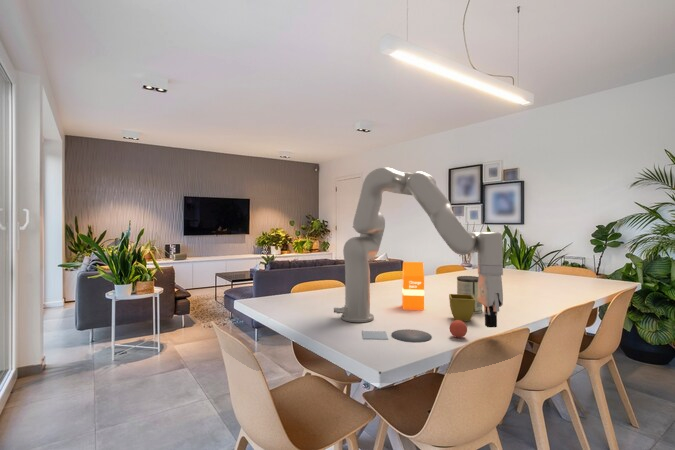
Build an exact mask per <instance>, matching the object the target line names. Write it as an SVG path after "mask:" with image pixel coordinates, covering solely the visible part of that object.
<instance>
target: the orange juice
mask: <svg viewBox="0 0 675 450" xmlns="http://www.w3.org/2000/svg"><path fill="white" fill-rule="evenodd" d="M424 270H425V269H424V262H422V261H403V262H402V274H401V275H402V277H401V278H402V280H401V281H402V287H401V293H402V295H401V299H402V300H401V301H402V303H401V306H402V308H403V309H402V310H415V311H416V310H419V311H421V310H422V311H423V310H425V273H424V272H425V271H424Z"/></svg>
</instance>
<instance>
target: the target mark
mask: <svg viewBox="0 0 675 450" xmlns="http://www.w3.org/2000/svg"><path fill="white" fill-rule="evenodd" d="M390 336H391V337H392V338H393V339H395V340H398V341H402V342H408V343H425V342H428V341H430V340H432V339H433V338H432V337H433V336H432V335H431V334H430V333H428V332H426V331H423V330H418V329H408V328H407V329H397V330H393V331H392V332H391V335H390Z"/></svg>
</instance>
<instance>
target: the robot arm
mask: <svg viewBox="0 0 675 450" xmlns="http://www.w3.org/2000/svg"><path fill="white" fill-rule="evenodd" d="M384 192H388V193H394V194H401V195H407V196H412V197H414V199H415V200H416V202H417V203H418V204H419V205H420V207H421V208H422V210H423V211H424V212H425V213H426V215H427V216H428V217H429V219H430V221H431V224H433V226H434V228H435V230H436V231H437V233H438V235H440V237H441V238H442V240H443V241H444V243H446V245H447V246H448V247H449V249H451V251H453V252H454V253H455V254H456V255H459V256H460V255H461V256H465V255H468V254H473V253H477V275H478V276H477V277H478V289H477V300H478V302H479V303H481V304H482V306H483V308H484V310H483V311H484V326H485V327H486V328H497V327H498V319H497V316H498V312H499V313H500V307H502V306H503V305H504V292H503V281H502V276H504V270H503V269H504V262H503V261H504V259H503V257H504V256H503V255H504V253H503V249H504V248H503V247H504V246H503V235H502V233H500V232H498V231H483V232H482V231H481V232H476V231H468V230H467V229H466V228H465V227H464V226H463V224H461V222H460V221H459V219H458V218H457V217H456V215H455V213H454V212H453V207H452V204H451V201H450V200H449V199H448V198H447V196H445V194H444V193H443V192H442V191H441V189H440V188H439V187H438V185H437V181H436V179H435V178H434V177H433V176H432V175H431V174H429V173H426V172H424V171H416V172H413V173H411V172H405V171H399V170H396V169H394V168H391V167H383V166H382V167H378V168H375V169H374V170H372V171H370V172H369V173H368V174H367V175H366V176H365V178H364V180H363V182H362V186H361V191H360V195H359V199H358V203H357V206H356V210H355V214H354V217H353V224H352V226H353V229H354V230H355V232H357V233H358V234H359V236H353V237H350V238H349V239H348V240H347V241H345V243H344V246H343V251H342V253H343V259H344V270H345V271H344V275H345V276H344V277H345V278H344V279H345V285H344V286H345V289H344V291H345V294H344V295H345V297H344V299H345V300H344V303H345V304H344V305H343V306H342V307H333V313H334V314H335V313H336V314H338V315H339V314H341V315H340V316H341V318H340V319H342V320H343V321H345V322H349V323H367V322H372V321H373V320H374V319H375V315H374V314H372V313H371V310H370V309H371V271H370V269H371V268H370V263H369V260H371V259H374V258H375V257H376V256H377V254H379V249H380V247H381V243H382V240H383V236H384V232H385V228H386V219H385V217H384V215H383V213H381V212H380V210H381V205H382V201H383V200H382V199H383V193H384Z"/></svg>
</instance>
